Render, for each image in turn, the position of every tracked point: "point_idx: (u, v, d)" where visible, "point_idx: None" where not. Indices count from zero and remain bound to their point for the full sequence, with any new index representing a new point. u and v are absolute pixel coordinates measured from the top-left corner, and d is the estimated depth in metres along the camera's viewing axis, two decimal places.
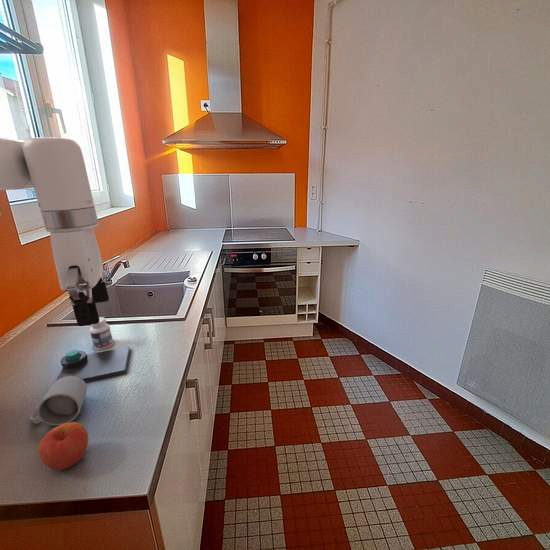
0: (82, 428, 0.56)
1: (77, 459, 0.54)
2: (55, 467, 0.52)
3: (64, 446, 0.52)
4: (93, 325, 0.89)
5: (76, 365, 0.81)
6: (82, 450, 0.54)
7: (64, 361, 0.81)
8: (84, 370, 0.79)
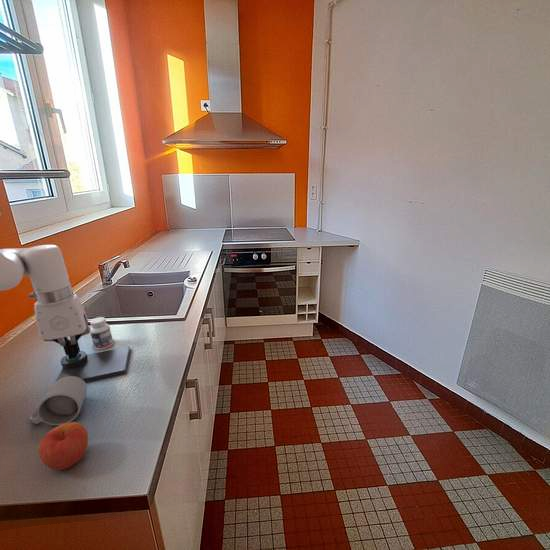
0: (82, 428, 0.56)
1: (77, 459, 0.54)
2: (55, 467, 0.52)
3: (64, 446, 0.52)
4: (93, 325, 0.89)
5: (76, 365, 0.81)
6: (82, 450, 0.54)
7: (64, 361, 0.81)
8: (84, 370, 0.79)
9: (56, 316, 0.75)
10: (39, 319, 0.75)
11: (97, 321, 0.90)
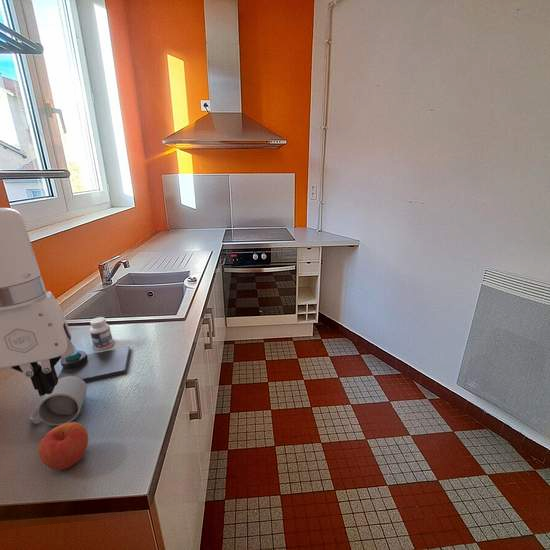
0: (82, 428, 0.56)
1: (77, 459, 0.54)
2: (55, 467, 0.52)
3: (64, 446, 0.52)
4: (93, 325, 0.89)
5: (76, 365, 0.81)
6: (82, 450, 0.54)
7: (64, 361, 0.81)
8: (84, 370, 0.79)
9: (16, 329, 0.45)
10: None
11: (97, 321, 0.90)
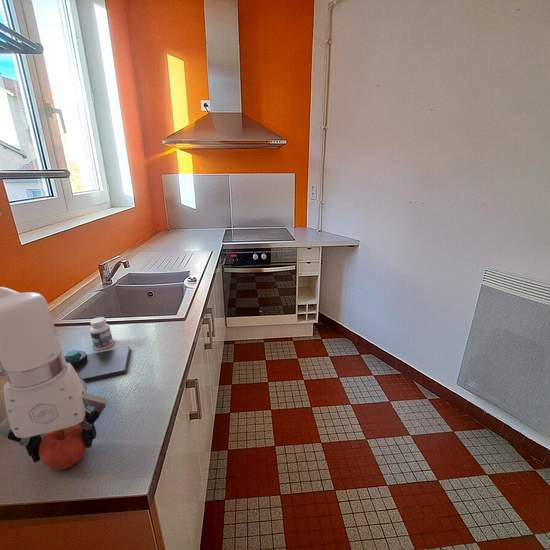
0: (82, 428, 0.56)
1: (77, 459, 0.54)
2: (55, 467, 0.52)
3: (64, 446, 0.52)
4: (93, 325, 0.89)
5: (76, 365, 0.81)
6: (82, 450, 0.54)
7: None
8: (84, 370, 0.79)
9: (39, 404, 0.48)
10: (11, 410, 0.47)
11: (97, 321, 0.90)
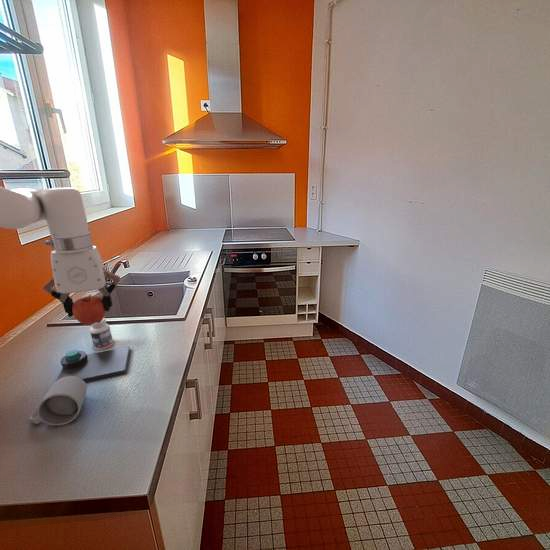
0: None
1: (98, 318, 0.74)
2: (83, 319, 0.72)
3: (90, 304, 0.73)
4: (93, 325, 0.89)
5: (76, 365, 0.81)
6: (102, 312, 0.75)
7: (64, 361, 0.81)
8: (84, 370, 0.79)
9: (74, 267, 0.69)
10: (55, 269, 0.68)
11: None
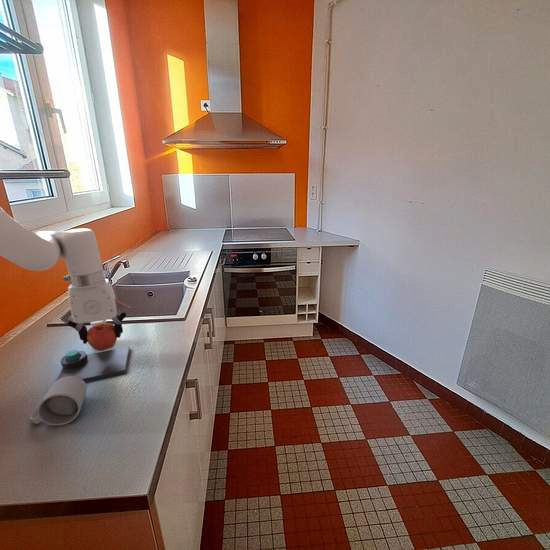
0: None
1: (111, 344, 0.81)
2: (97, 346, 0.79)
3: (103, 332, 0.79)
4: (93, 325, 0.89)
5: (76, 365, 0.81)
6: (114, 338, 0.82)
7: (64, 361, 0.81)
8: (84, 370, 0.79)
9: (89, 300, 0.76)
10: (72, 302, 0.75)
11: (97, 321, 0.90)
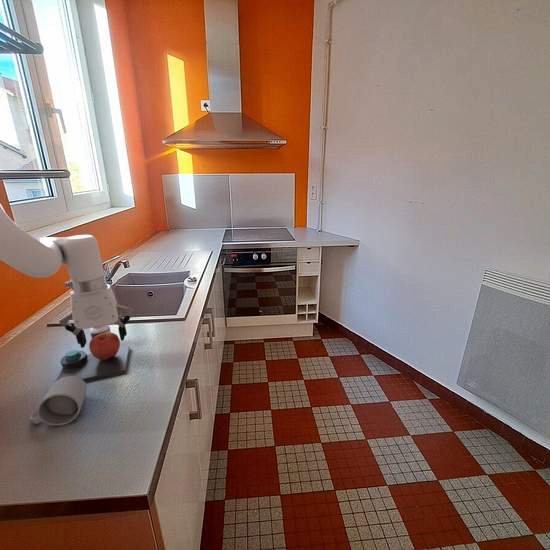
0: (116, 335, 0.84)
1: (113, 353, 0.82)
2: (100, 355, 0.80)
3: (106, 342, 0.81)
4: None
5: (76, 365, 0.81)
6: (116, 348, 0.83)
7: (64, 361, 0.81)
8: (84, 370, 0.79)
9: (91, 306, 0.76)
10: (74, 308, 0.75)
11: None
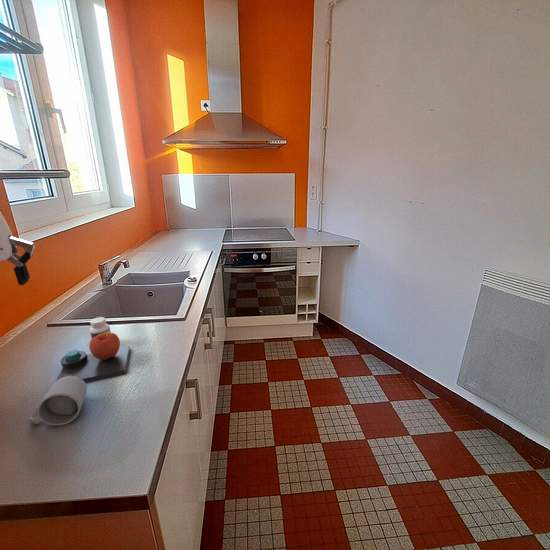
0: (116, 335, 0.84)
1: (113, 353, 0.82)
2: (100, 355, 0.80)
3: (106, 342, 0.81)
4: (93, 325, 0.89)
5: (76, 365, 0.81)
6: (116, 348, 0.83)
7: (64, 361, 0.81)
8: (84, 370, 0.79)
9: None
10: None
11: (97, 321, 0.90)
